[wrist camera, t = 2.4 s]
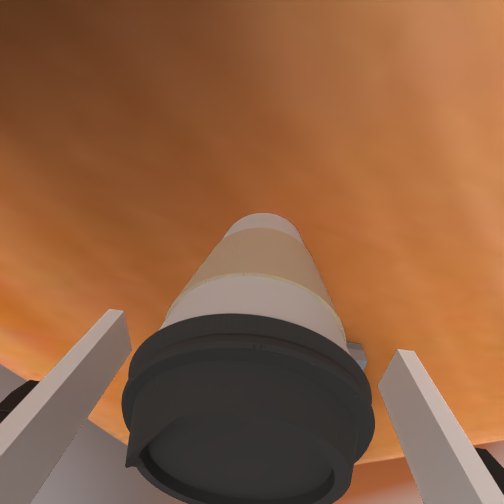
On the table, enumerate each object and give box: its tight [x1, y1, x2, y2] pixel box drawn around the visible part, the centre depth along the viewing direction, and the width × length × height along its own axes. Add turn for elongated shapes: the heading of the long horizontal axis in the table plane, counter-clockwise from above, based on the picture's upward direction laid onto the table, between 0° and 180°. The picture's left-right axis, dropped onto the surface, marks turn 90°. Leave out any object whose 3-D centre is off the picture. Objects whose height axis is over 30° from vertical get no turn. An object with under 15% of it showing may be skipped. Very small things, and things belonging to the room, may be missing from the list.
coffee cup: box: [122, 213, 375, 504], centre depth 13 cm, size 9×9×15 cm
